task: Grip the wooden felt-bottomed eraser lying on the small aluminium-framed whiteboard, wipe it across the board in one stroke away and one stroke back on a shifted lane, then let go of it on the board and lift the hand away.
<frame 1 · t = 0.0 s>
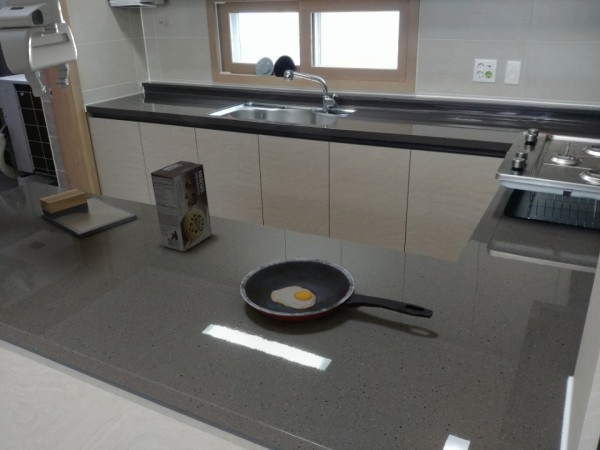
hand: (52, 91, 103), 32 cm above the worktop, tool pointing down, fingers open, 8 cm apart
whiteboard: (88, 217, 128), on the worktop
eraser: (66, 211, 130), point 1 cm above the worktop, touching whiteboard
frying pan: (333, 309, 87), on the worktop
coffee box: (187, 241, 114), on the worktop
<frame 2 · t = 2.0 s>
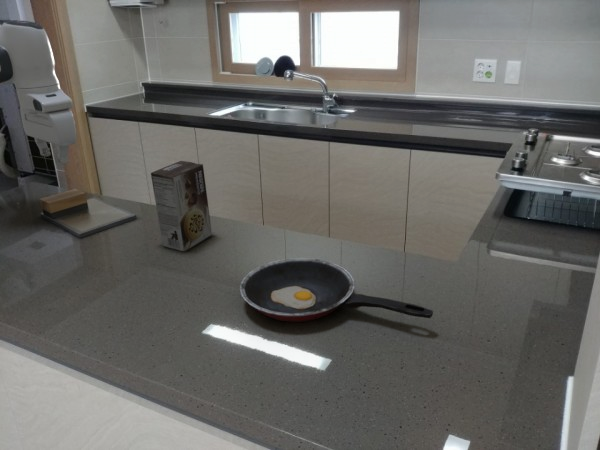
hand: (54, 159, 124), 14 cm above the worktop, tool pointing down, fingers open, 8 cm apart
nothing on the worktop moved.
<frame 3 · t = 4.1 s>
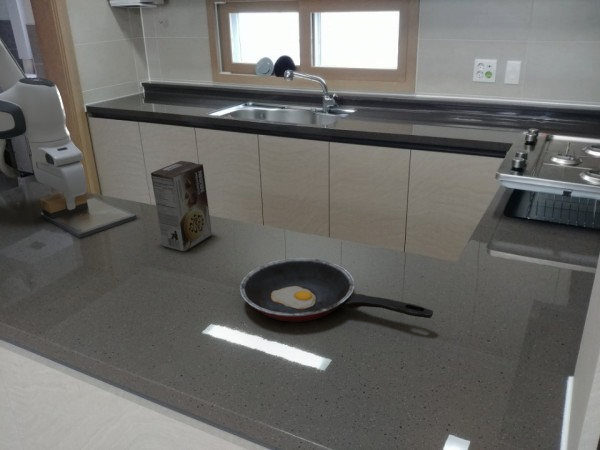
hand: (64, 205, 129), 2 cm above the worktop, tool pointing down, fingers closed on eraser, 5 cm apart
eraser: (66, 211, 130), point 1 cm above the worktop, touching gripper, whiteboard
everything else where it was.
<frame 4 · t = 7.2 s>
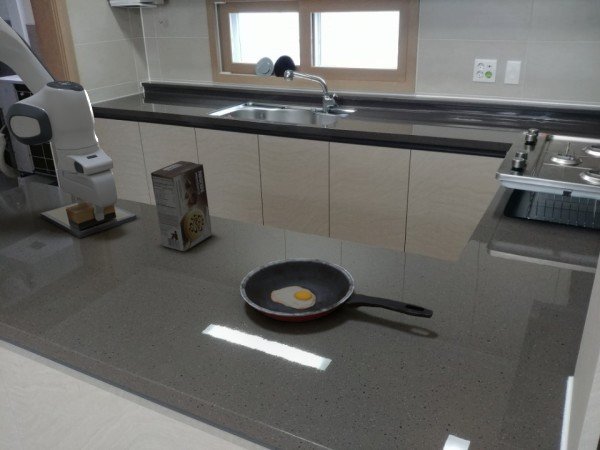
hand: (92, 216, 122), 2 cm above the worktop, tool pointing down, fingers closed on eraser, 5 cm apart
eraser: (93, 221, 123), point 1 cm above the worktop, touching gripper
everything else where it was.
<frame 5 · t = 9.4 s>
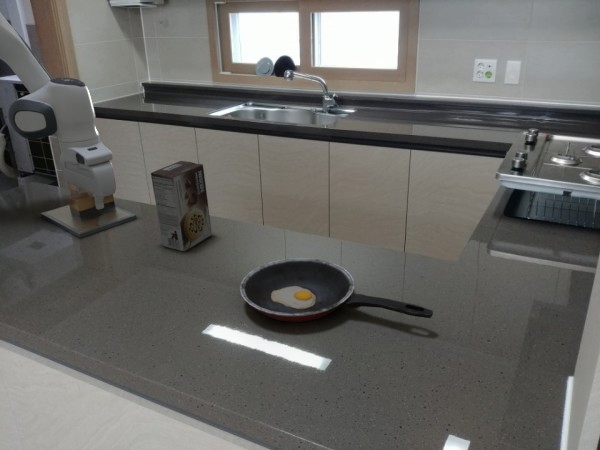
hand: (93, 205, 130), 2 cm above the worktop, tool pointing down, fingers closed on eraser, 5 cm apart
eraser: (93, 209, 130), point 1 cm above the worktop, touching gripper, whiteboard
everything else where it was.
when the fingers open (2 cm above the worktop, at t = 10.6 s): eraser stays where it is, resting on whiteboard.
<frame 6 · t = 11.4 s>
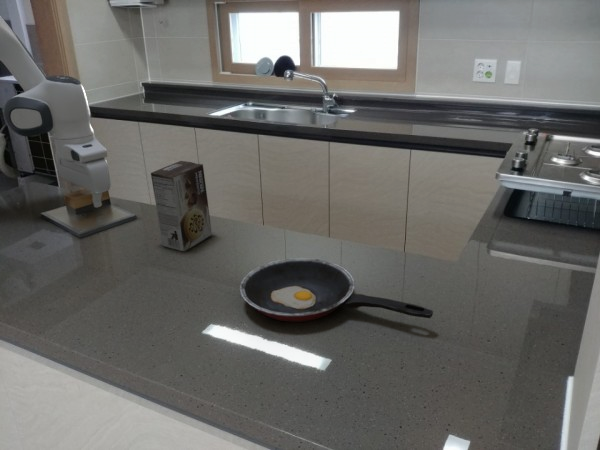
hand: (87, 202, 131), 2 cm above the worktop, tool pointing down, fingers open, 8 cm apart
eraser: (89, 207, 132), point 1 cm above the worktop, touching whiteboard
everything else where it was.
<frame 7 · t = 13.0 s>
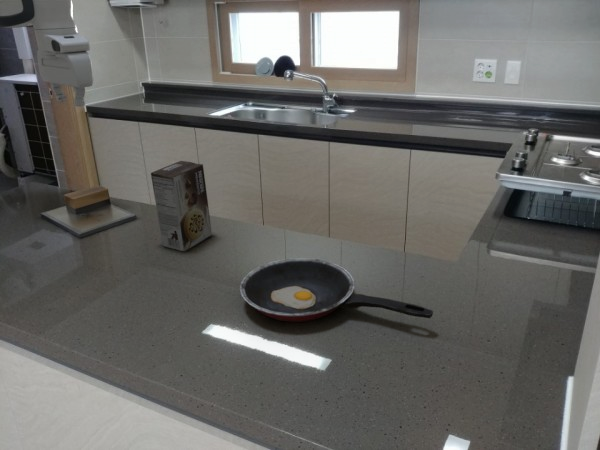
hand: (70, 104, 126), 26 cm above the worktop, tool pointing down, fingers open, 8 cm apart
nothing on the worktop moved.
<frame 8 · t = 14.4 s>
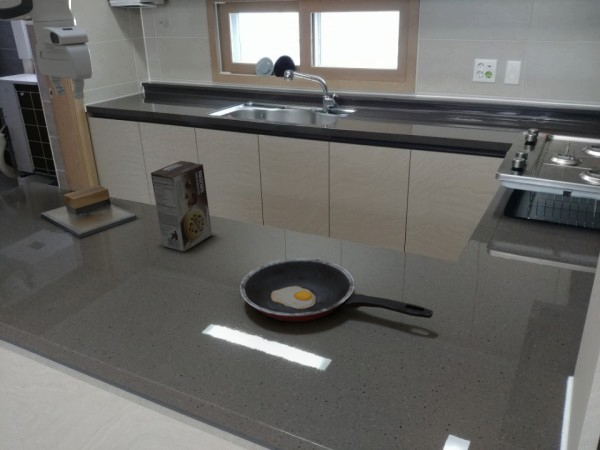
hand: (69, 96, 126), 27 cm above the worktop, tool pointing down, fingers open, 8 cm apart
nothing on the worktop moved.
at the end: eraser moved 5.3 cm from its start; eraser inside the target area on the whiteboard (4.7 cm from its centre), point 1.0 cm above the whiteboard's base; the gripper is holding nothing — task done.
